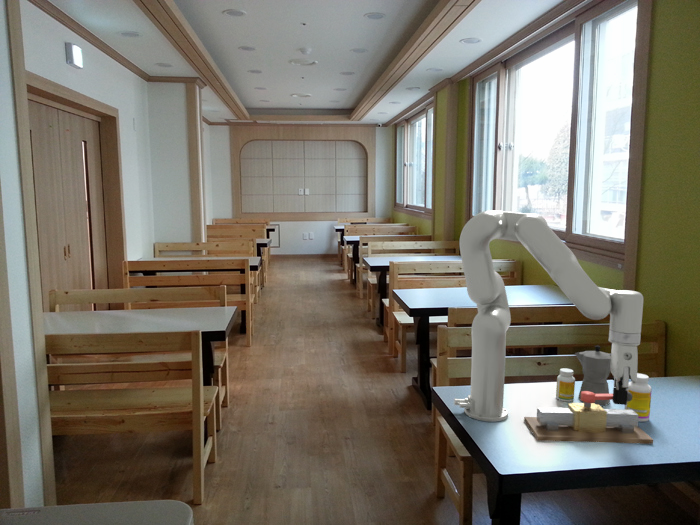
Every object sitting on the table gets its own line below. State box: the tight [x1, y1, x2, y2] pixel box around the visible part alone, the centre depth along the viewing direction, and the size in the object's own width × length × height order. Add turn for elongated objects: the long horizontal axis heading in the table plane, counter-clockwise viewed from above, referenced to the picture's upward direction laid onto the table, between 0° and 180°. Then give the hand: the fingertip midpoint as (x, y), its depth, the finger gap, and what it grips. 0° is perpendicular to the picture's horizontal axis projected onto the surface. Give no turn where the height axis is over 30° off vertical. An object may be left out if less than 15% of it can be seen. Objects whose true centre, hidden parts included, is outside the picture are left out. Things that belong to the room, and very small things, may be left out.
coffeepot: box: [574, 345, 614, 406], centre depth 174 cm, size 15×9×18 cm, turn 68°
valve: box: [536, 402, 639, 434], centre depth 152 cm, size 26×6×6 cm, turn 88°
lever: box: [580, 391, 632, 408], centre depth 151 cm, size 14×4×4 cm, turn 94°
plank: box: [523, 416, 654, 445], centre depth 152 cm, size 30×13×1 cm, turn 88°
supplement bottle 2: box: [623, 372, 652, 423], centre depth 162 cm, size 7×7×13 cm
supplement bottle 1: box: [555, 367, 576, 403], centre depth 176 cm, size 5×5×10 cm
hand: (619, 403), depth 149 cm, fingers closed
